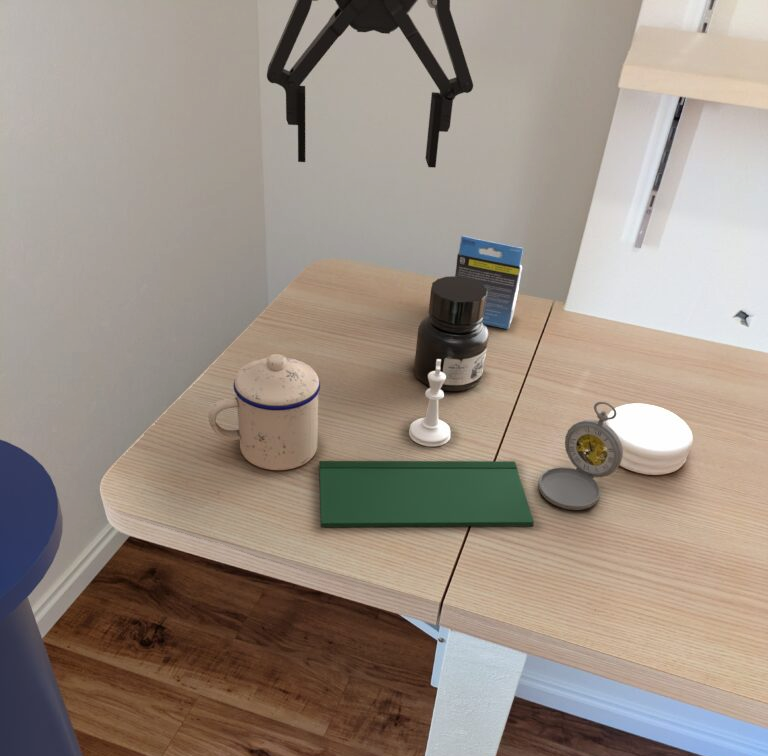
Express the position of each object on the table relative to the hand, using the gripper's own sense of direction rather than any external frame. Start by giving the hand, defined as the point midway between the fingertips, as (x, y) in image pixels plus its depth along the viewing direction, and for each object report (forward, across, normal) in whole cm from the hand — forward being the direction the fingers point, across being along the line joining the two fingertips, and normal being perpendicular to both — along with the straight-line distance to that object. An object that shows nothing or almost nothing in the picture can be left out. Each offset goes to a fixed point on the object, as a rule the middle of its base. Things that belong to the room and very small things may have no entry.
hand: (366, 160), depth 84 cm
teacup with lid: (+27, +11, +15) cm, 33 cm away
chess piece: (+27, -8, +12) cm, 31 cm away
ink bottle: (+27, -12, -1) cm, 29 cm away
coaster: (+27, -33, +15) cm, 45 cm away
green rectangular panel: (+27, -6, +23) cm, 36 cm away
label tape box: (+27, -19, -16) cm, 37 cm away
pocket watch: (+27, -23, +22) cm, 42 cm away
